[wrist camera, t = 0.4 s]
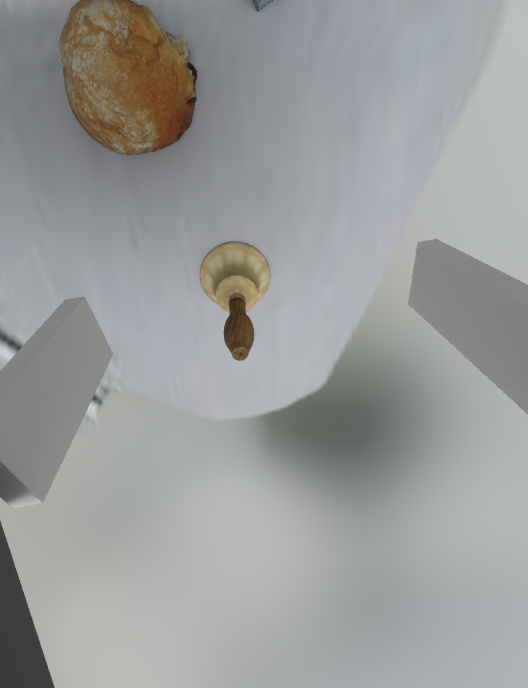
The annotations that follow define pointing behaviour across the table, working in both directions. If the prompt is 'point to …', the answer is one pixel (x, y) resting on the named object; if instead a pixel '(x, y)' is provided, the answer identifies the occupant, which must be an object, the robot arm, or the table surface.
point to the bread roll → (126, 76)
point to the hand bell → (236, 290)
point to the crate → (261, 3)
